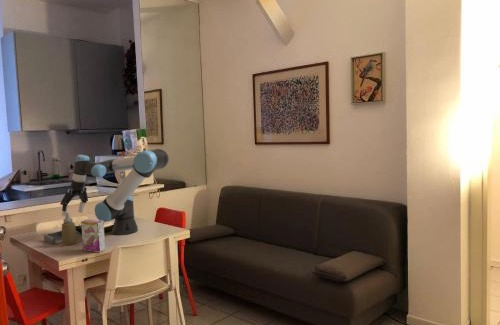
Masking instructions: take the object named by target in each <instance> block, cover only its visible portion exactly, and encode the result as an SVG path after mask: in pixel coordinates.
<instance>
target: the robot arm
mask: <svg viewBox="0 0 500 325" xmlns="http://www.w3.org/2000/svg"><path fill="white" fill-rule="evenodd" d="M169 159H170V158H169V155H168V152H166V150H163V149H161V148H156V149H155V148H154V149H148V150H147V149H145V150H141V151H140V152H138V153H137V154H136V155H134V156H128V157H124V158H123V157H122V158H116V159H110V160H106V161H99V162H94V161H91V160H90V156H88V155H85V154H78V155H76V157H75V160H74V168H73V171H72V178H71V179H72V180H71V182H70V186H71V188H70V189H69V188H67V189H66V192H65V194H64V196H63V197H62V199H61V201H60V203H59V205H60V206H62V209H61V216H62V217H64V218H65V217H66V213H68V207H69V206H68V205H69V203H70V202H71V200H73V198H75V197H79V199H80V201H79V205H78V212H79V213H81V214H83V212H84V208H85V205H86V204H87V202H88V201H89V198H88V192H87V190H88V189H87V187H86V186H85V185H86V179H87V174H88V175H90V176H93V177H94V178H95V177H96V178H99V179H100V178H103V177H104V176H105V175H107V174H110V173H116V172H124V171H125V172H126V171H130V172H128V174H127V175H126V176H125V178H124V179H123V180H122V182H120V184H119V185H118V186H117V188H116V189H115V190H114V191H113V192H112V194H108V195H106V197H105V198H104V199H103V201H100V202H98V203H97V204H95V206H94V215H95V217H96V218H97V220H103V222H104V223H107V222H110V221H113V220H114V223H113V227H112V234H113V235H116V236H117V235H121V236H123V235H131V234H134V233H136V232H138V231H139V226H138V225H137V222H136V219H135V209H134V208H135V207H134V198H133V196H132V195H133V194H134V192H135V191H136V190H137V189H138V188H139V187H140V185H141V184H142V182H144V180H145V179H149V178H150V177H151V176H152V175H153V174H154V172H156V171H157V170H162V169H164V168H165V167H167V166H168V164H169Z"/></svg>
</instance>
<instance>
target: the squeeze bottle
mask: <svg viewBox="0 0 500 325" xmlns="http://www.w3.org/2000/svg"><path fill="white" fill-rule="evenodd" d="M70 216H71V215H70V214H69V212H67V213H66V217H64V219H63V220H62V221H63V223H62V224H61V231H62V241H63V244H65V245H64V246H72V245H75V244H76V242H77V238H78V234H77V229H76V225H75V222H73V218H71V217H70ZM71 244H72V245H71Z"/></svg>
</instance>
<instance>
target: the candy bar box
mask: <svg viewBox="0 0 500 325" xmlns="http://www.w3.org/2000/svg"><path fill="white" fill-rule="evenodd" d="M104 223H105V222H103V220H99V219H84V220H81V221H80V226H81V228H80V229H81V238H82V239H81V240H82V241H81V242H82V251H83V250H91V251H102V250H104V251H105V249H106V240H105V239H106V237H105V225H104ZM102 252H103V251H102Z"/></svg>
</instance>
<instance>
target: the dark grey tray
mask: <svg viewBox="0 0 500 325" xmlns="http://www.w3.org/2000/svg"><path fill="white" fill-rule="evenodd" d="M43 241H44V242H46V243H48V242H49V244H51V243H52V244H51V245H53V244H55V245H57V244H58V243H59V244H62V242H63V241H62V230H59V231H54V232H50V233H46V234H43Z"/></svg>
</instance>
